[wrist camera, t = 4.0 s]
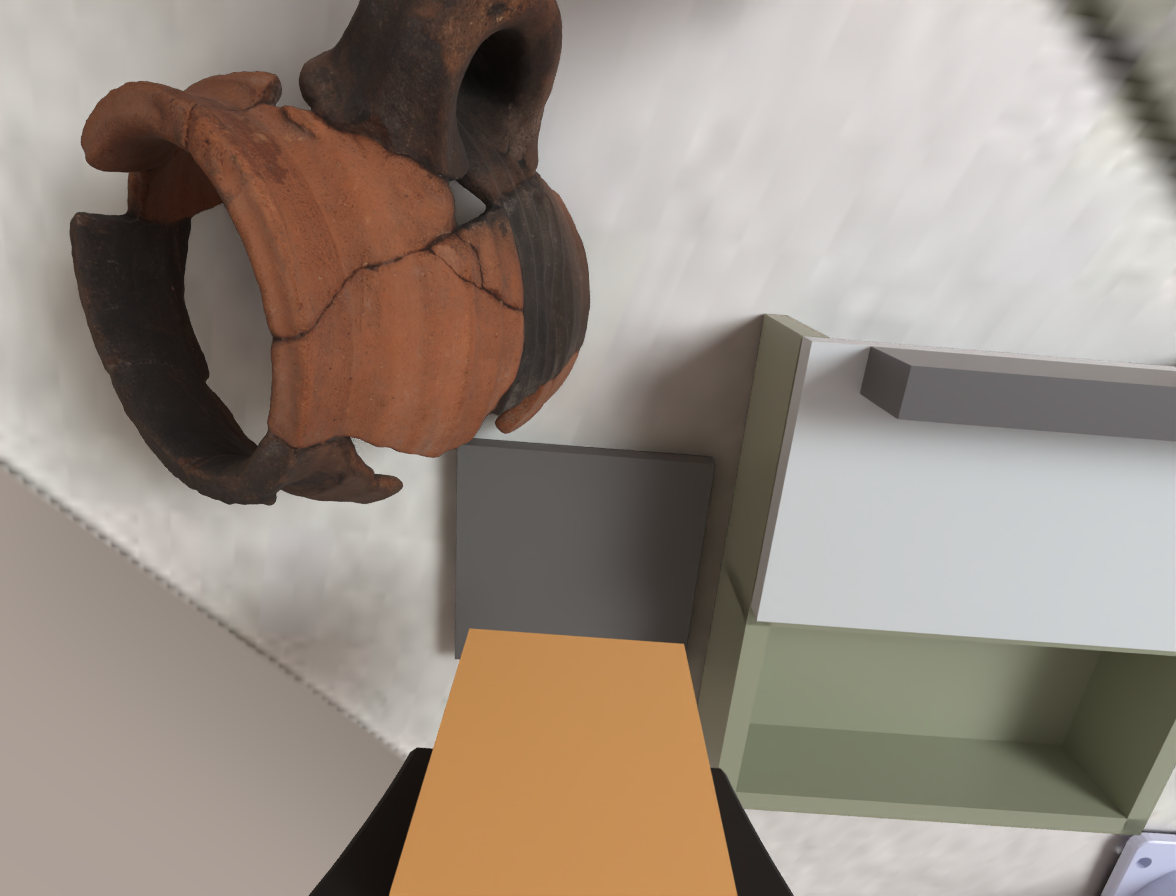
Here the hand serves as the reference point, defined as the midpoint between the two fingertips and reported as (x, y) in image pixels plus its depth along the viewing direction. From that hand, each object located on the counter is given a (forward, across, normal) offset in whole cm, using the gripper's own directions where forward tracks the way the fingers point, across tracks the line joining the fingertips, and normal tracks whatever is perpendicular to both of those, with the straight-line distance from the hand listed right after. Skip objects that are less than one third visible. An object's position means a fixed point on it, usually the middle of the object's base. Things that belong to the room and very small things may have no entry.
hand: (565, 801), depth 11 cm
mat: (+8, 0, 0) cm, 8 cm away
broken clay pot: (+9, +5, -8) cm, 13 cm away
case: (+9, -11, -1) cm, 14 cm away
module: (+2, 0, 0) cm, 2 cm away
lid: (+5, -11, -4) cm, 12 cm away
